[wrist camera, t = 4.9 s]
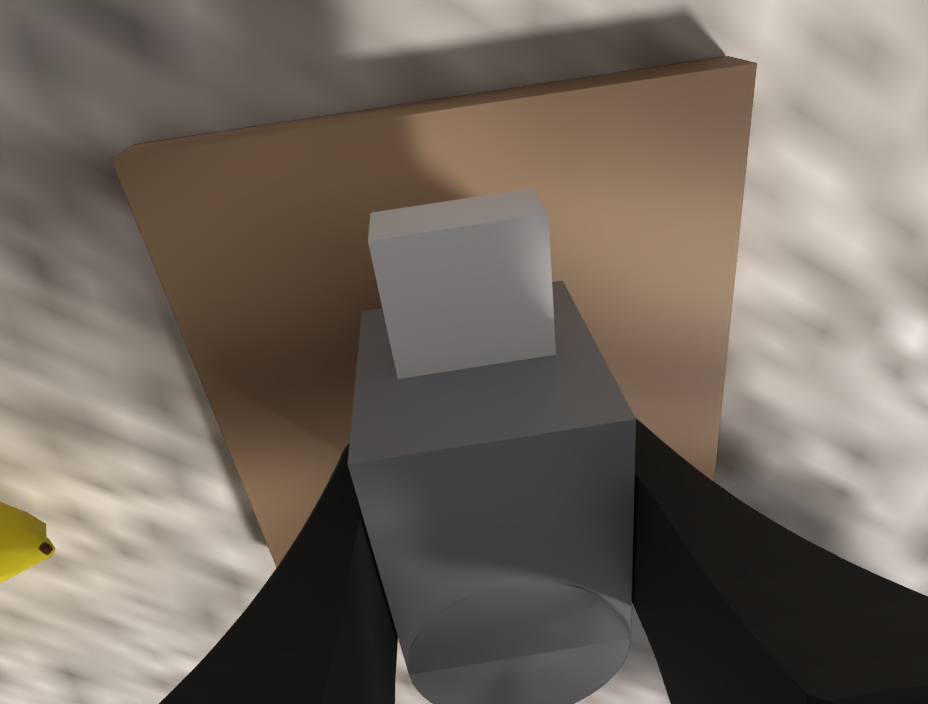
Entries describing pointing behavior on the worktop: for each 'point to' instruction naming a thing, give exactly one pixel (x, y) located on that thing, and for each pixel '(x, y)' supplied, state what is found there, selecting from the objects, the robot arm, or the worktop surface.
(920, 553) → the worktop surface
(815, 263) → the worktop surface
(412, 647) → the plug
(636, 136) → the board
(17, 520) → the banana
